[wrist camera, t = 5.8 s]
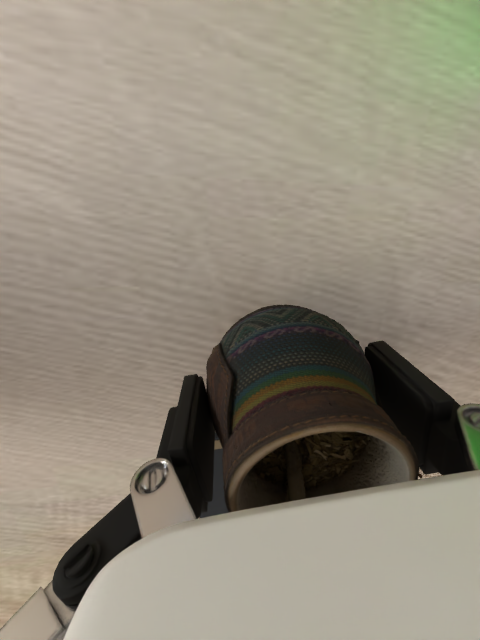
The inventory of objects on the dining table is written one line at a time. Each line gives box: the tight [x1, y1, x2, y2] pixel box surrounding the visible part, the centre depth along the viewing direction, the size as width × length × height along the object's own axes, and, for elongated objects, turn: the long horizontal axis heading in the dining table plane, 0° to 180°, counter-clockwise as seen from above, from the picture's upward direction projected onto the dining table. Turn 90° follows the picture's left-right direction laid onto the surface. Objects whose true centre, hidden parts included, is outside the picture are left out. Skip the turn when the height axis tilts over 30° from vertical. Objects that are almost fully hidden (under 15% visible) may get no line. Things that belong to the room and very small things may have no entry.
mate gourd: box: [206, 305, 422, 513], centre depth 10 cm, size 7×8×10 cm
